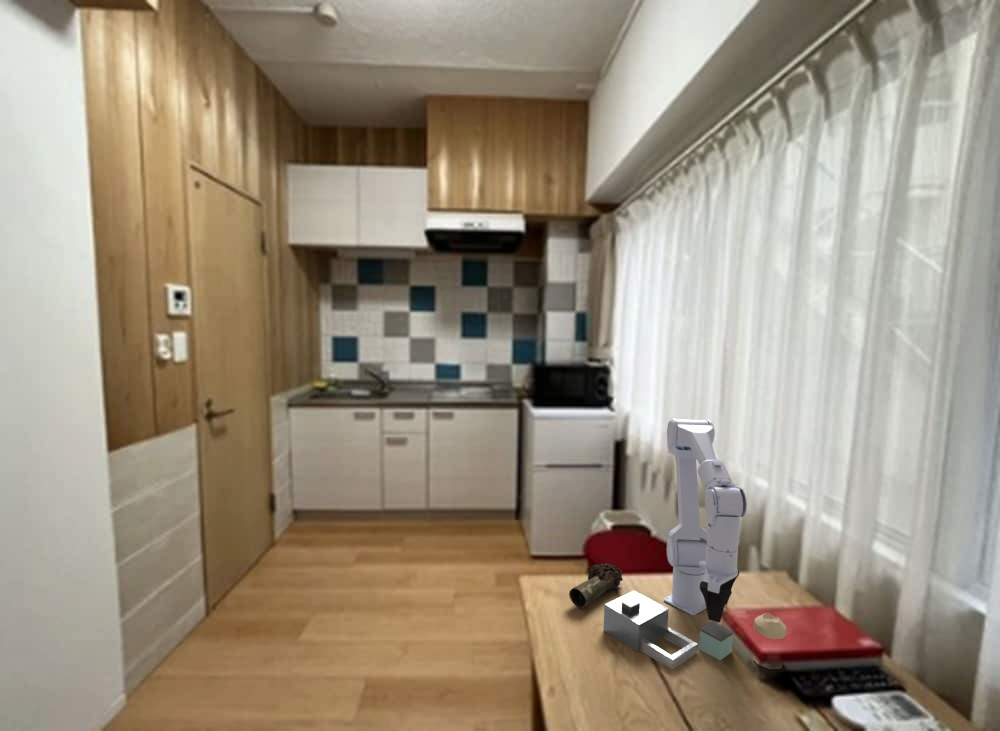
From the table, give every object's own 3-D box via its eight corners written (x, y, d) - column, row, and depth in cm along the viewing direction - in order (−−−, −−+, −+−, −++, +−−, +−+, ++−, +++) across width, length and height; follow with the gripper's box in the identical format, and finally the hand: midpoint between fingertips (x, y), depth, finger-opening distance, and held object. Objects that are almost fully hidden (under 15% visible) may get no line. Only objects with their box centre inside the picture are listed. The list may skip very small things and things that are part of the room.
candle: (746, 655, 103) (750, 608, 102) (774, 656, 103) (777, 609, 102) (759, 674, 97) (763, 624, 96) (788, 675, 97) (792, 626, 96)
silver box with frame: (641, 611, 118) (642, 579, 117) (707, 648, 105) (709, 613, 104) (603, 630, 110) (605, 597, 109) (669, 673, 97) (671, 636, 96)
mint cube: (710, 644, 106) (712, 621, 106) (731, 655, 103) (733, 632, 102) (698, 652, 104) (700, 628, 103) (719, 664, 100) (721, 640, 100)
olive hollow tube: (585, 612, 116) (587, 588, 115) (561, 599, 120) (563, 576, 120) (625, 586, 128) (627, 565, 128) (603, 576, 133) (604, 555, 133)
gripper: (708, 529, 109) (704, 589, 111) (692, 554, 97) (688, 621, 99) (744, 537, 106) (740, 600, 107) (732, 564, 94) (728, 634, 95)
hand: (718, 611), depth 102 cm, fingers open, 7 cm apart
